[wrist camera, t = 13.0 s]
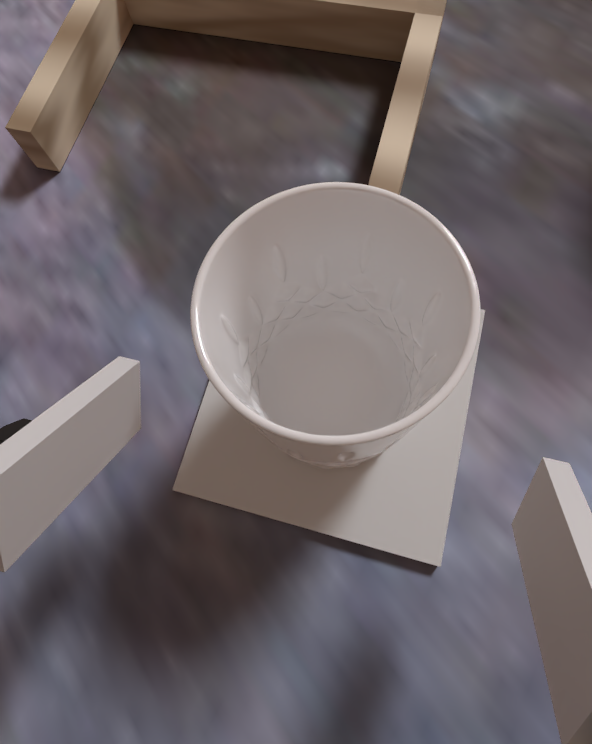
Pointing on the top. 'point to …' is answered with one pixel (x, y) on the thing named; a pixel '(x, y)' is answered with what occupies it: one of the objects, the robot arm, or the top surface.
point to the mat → (336, 478)
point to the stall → (240, 21)
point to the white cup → (335, 319)
